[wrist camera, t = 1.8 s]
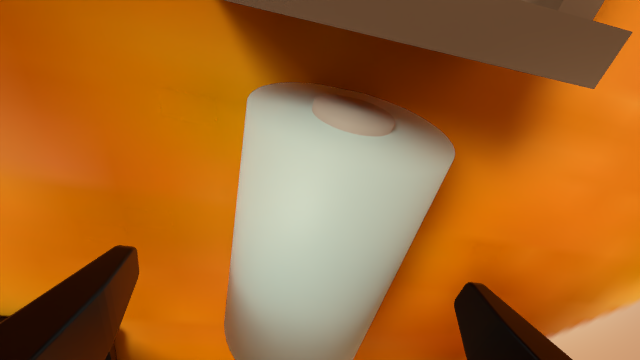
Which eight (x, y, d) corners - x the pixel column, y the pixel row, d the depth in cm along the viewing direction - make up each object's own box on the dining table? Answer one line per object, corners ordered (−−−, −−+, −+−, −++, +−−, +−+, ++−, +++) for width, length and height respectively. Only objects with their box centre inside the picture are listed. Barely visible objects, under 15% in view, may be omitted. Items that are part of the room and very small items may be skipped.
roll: (345, 273, 14) (371, 394, 10) (233, 265, 13) (211, 395, 9) (413, 95, 10) (505, 180, 6) (255, 64, 9) (234, 138, 5)
